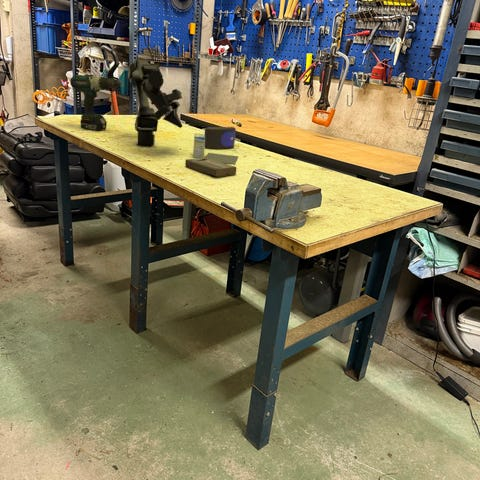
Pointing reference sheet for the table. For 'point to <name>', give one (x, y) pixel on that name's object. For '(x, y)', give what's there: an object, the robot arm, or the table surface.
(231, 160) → the mat
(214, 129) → the leaning round-cornered charcoal block
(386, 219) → the table surface
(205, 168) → the box
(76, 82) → the power drill
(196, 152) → the medicine box
